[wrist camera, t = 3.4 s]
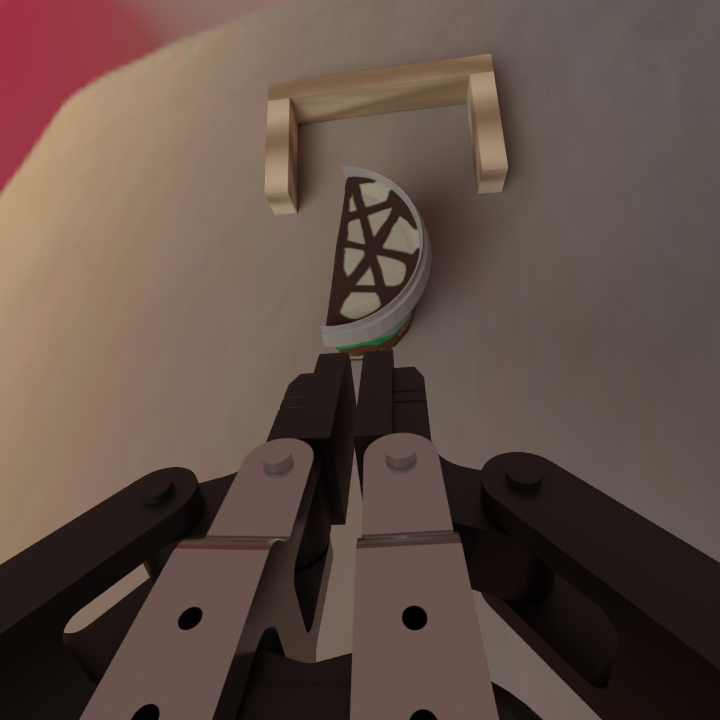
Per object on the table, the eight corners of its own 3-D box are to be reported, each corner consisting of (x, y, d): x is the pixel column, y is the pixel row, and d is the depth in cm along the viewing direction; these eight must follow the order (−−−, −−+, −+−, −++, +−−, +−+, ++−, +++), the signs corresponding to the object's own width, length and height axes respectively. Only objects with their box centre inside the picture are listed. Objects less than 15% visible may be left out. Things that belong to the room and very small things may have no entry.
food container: (423, 385, 35) (424, 343, 25) (344, 378, 36) (318, 336, 26) (434, 243, 38) (439, 159, 29) (362, 241, 39) (344, 159, 30)
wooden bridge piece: (501, 192, 39) (508, 167, 36) (275, 215, 41) (264, 194, 38) (486, 83, 42) (490, 53, 39) (278, 110, 45) (268, 83, 42)
